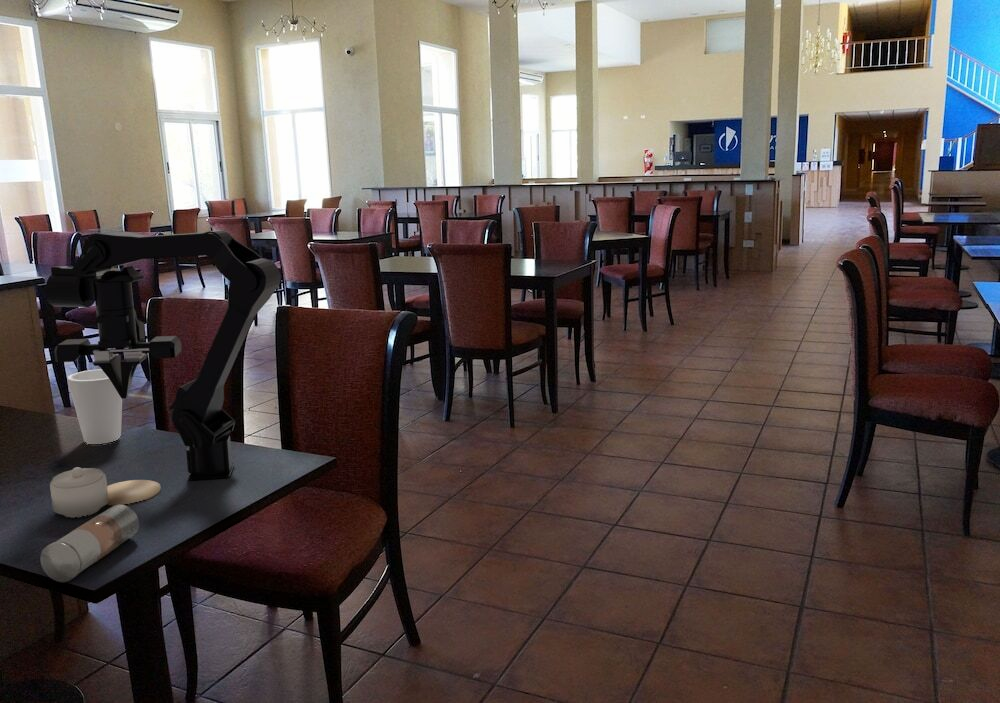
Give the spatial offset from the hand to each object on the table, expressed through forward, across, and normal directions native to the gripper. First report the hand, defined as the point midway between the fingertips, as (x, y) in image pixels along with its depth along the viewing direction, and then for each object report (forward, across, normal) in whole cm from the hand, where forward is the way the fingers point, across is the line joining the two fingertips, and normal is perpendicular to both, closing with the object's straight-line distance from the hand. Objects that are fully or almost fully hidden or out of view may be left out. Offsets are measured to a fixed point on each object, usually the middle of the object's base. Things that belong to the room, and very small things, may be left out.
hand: (124, 397), depth 137 cm
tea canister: (+10, -6, +28) cm, 30 cm away
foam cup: (+13, +10, -18) cm, 24 cm away
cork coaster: (+13, -2, +11) cm, 17 cm away
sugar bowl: (+13, +3, +17) cm, 22 cm away
